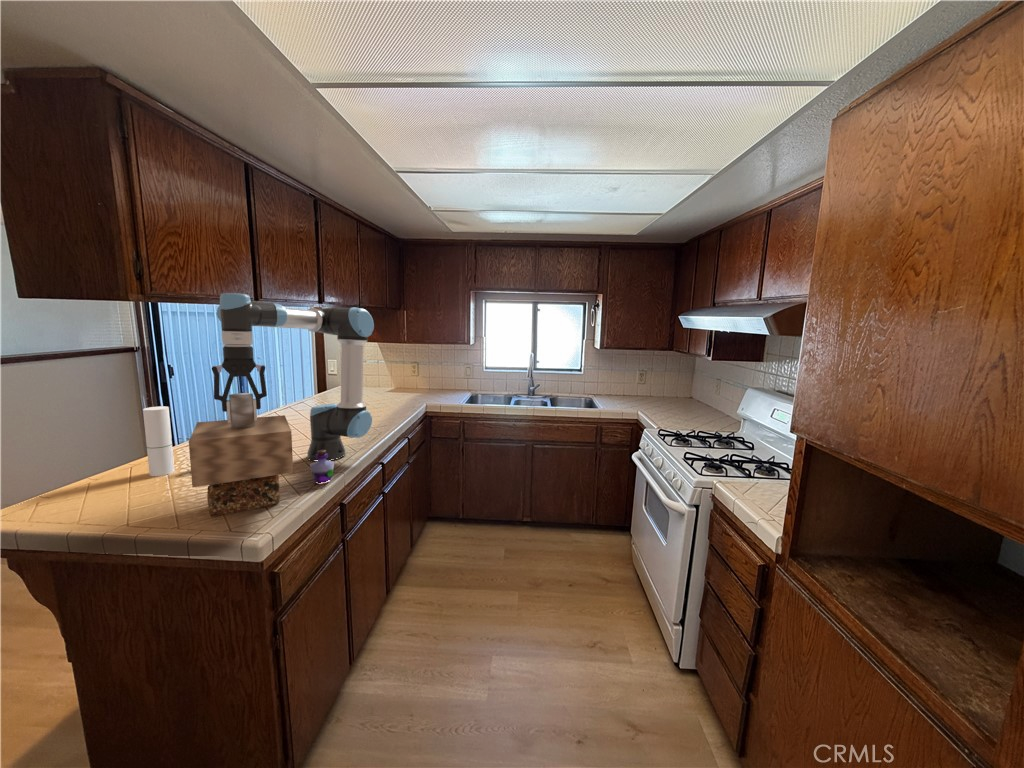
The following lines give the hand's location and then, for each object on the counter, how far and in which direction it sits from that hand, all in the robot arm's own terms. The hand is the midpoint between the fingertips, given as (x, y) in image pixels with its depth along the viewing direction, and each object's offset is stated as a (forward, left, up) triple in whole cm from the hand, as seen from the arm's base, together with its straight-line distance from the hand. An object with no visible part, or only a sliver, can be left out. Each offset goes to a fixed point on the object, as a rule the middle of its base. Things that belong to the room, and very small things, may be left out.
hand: (242, 420), depth 123 cm
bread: (0, 0, -28) cm, 28 cm away
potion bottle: (-23, -9, -28) cm, 37 cm away
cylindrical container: (+27, -47, -28) cm, 61 cm away
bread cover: (0, 0, -15) cm, 15 cm away
